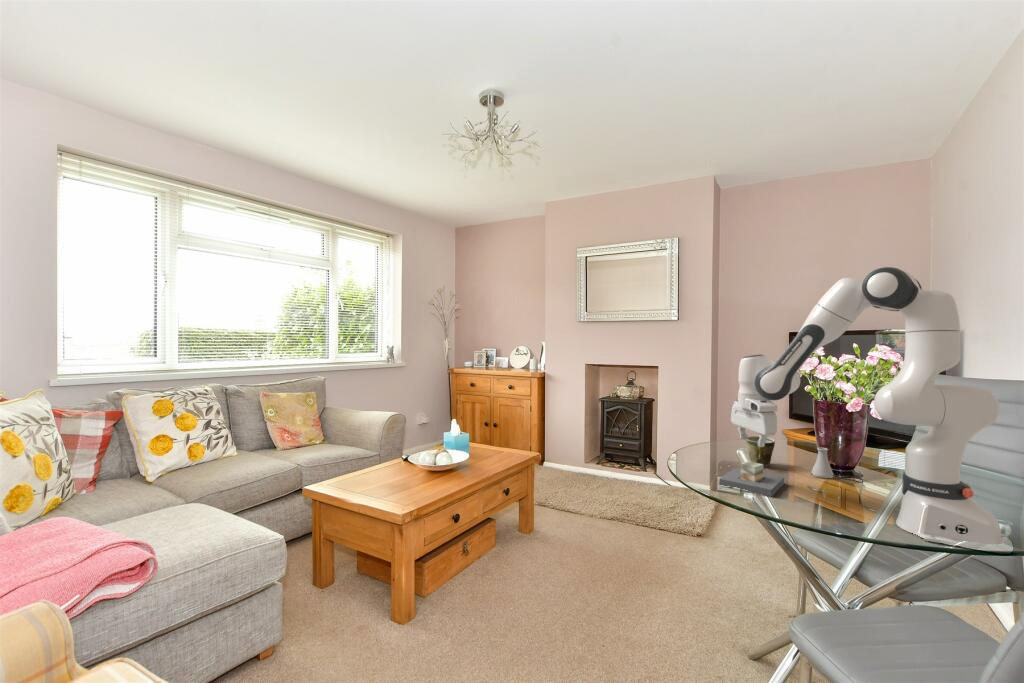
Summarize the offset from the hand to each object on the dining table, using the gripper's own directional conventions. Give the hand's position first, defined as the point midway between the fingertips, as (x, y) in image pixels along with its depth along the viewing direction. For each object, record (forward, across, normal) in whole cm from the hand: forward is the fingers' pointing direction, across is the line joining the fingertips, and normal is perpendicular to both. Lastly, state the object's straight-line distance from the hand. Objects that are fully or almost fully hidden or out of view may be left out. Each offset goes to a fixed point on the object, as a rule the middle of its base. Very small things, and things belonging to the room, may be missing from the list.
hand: (751, 442), depth 162 cm
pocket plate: (+15, 0, 0) cm, 15 cm away
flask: (+15, -5, +31) cm, 34 cm away
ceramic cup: (+14, -19, +16) cm, 29 cm away
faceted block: (+13, 0, 0) cm, 13 cm away
